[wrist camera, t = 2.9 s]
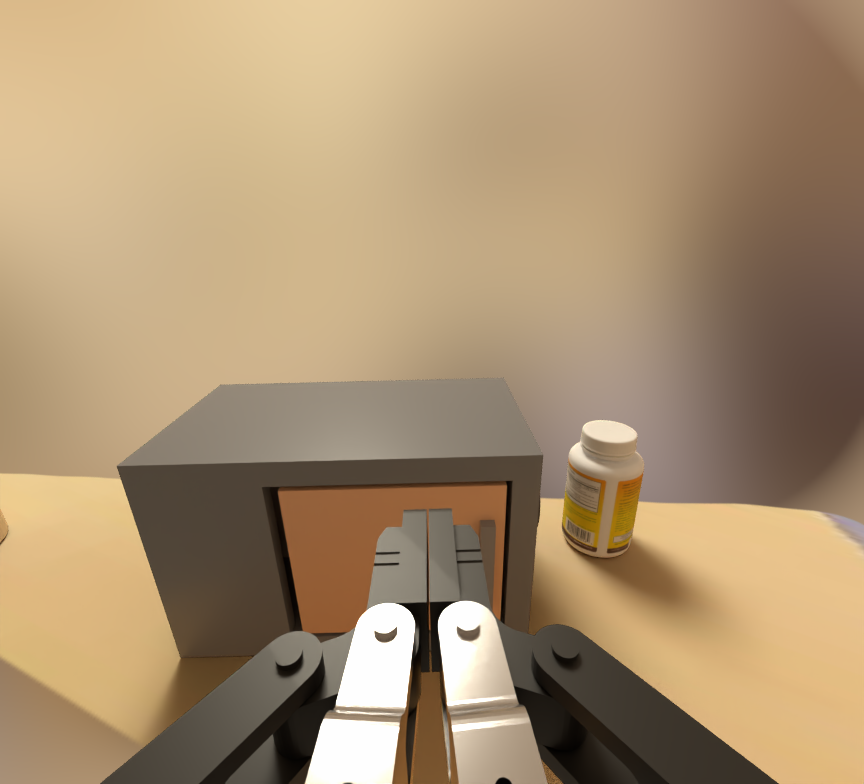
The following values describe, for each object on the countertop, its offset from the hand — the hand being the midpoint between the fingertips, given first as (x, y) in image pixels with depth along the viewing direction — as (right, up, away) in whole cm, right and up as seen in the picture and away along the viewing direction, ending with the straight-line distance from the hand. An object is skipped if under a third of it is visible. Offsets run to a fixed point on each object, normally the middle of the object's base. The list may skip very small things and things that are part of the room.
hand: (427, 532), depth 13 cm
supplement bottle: (+14, -8, +23) cm, 29 cm away
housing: (-5, -10, +19) cm, 22 cm away
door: (-2, -10, +13) cm, 17 cm away
